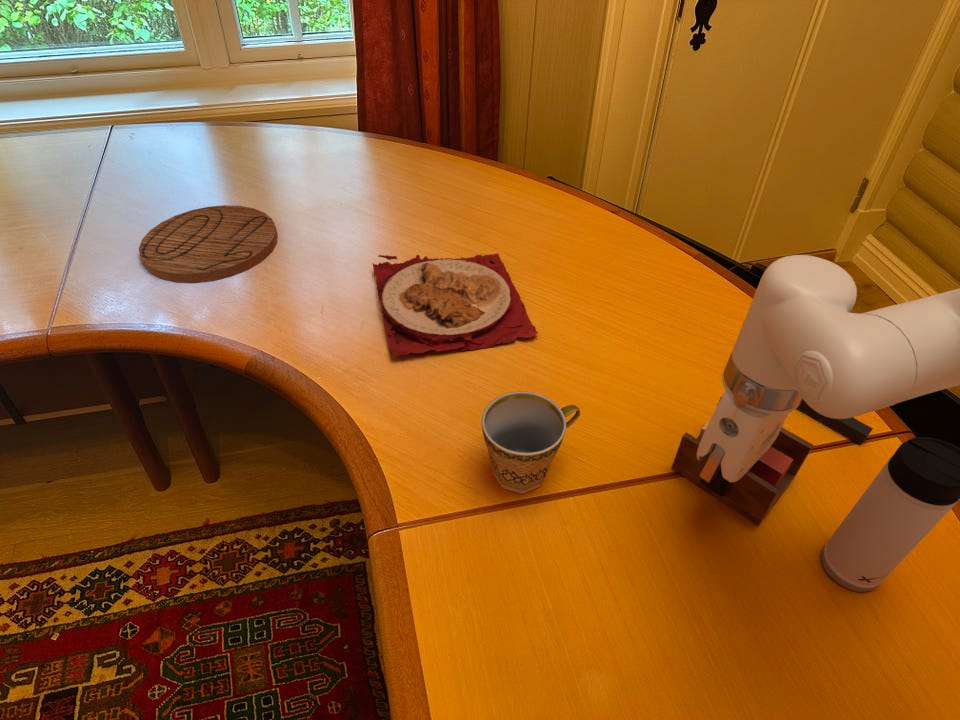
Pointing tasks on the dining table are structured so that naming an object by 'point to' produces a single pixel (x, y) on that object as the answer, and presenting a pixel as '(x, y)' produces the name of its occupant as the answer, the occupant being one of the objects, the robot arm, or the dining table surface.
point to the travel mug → (894, 513)
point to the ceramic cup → (524, 437)
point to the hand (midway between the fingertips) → (714, 485)
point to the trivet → (208, 243)
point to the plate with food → (449, 304)
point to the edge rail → (840, 424)
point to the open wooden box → (750, 473)
